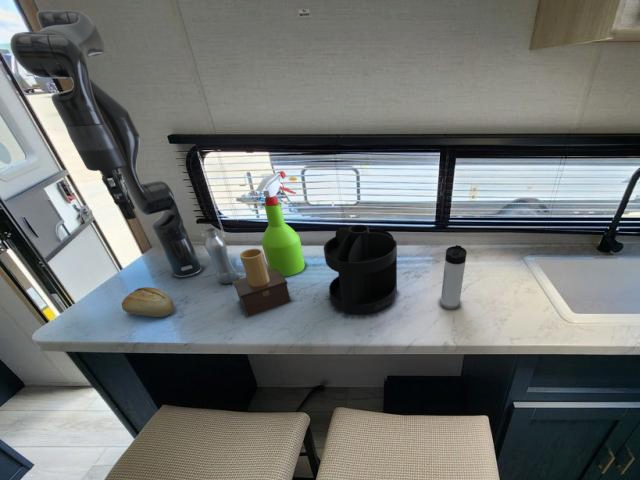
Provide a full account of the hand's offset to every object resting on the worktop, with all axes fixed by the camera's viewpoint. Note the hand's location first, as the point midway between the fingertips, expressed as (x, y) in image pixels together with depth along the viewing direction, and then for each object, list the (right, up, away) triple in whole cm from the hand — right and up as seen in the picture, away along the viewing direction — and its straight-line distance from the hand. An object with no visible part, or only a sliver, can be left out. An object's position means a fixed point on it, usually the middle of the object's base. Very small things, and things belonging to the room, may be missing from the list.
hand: (130, 213), depth 82 cm
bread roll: (-8, -27, +18) cm, 33 cm away
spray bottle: (+27, -9, +43) cm, 52 cm away
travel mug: (+88, -24, +23) cm, 94 cm away
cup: (+26, -17, +18) cm, 36 cm away
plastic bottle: (+8, -16, +33) cm, 38 cm away
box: (+26, -23, +23) cm, 42 cm away
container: (+58, -22, +26) cm, 67 cm away
